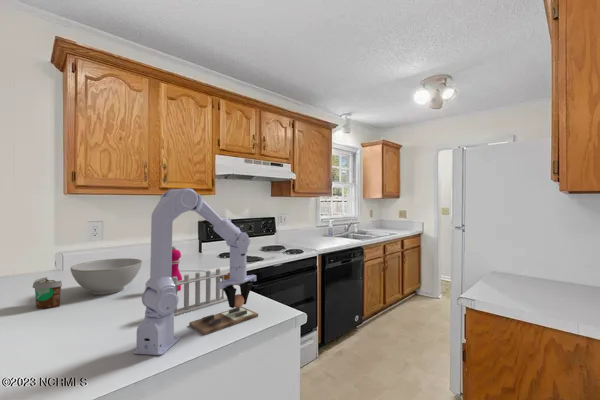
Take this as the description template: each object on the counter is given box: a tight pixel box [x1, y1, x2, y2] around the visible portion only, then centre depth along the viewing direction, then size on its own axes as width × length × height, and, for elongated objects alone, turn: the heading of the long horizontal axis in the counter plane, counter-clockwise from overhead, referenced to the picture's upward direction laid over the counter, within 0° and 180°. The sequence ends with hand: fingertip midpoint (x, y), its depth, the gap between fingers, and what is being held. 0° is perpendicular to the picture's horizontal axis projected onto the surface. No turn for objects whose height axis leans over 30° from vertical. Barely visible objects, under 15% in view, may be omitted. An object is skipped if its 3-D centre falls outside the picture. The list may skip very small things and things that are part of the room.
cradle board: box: [188, 306, 259, 336], centre depth 96 cm, size 20×10×2 cm, turn 136°
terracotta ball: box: [234, 293, 245, 308], centre depth 100 cm, size 4×4×4 cm
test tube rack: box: [172, 267, 230, 317], centre depth 109 cm, size 25×4×13 cm, turn 139°
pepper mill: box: [171, 245, 183, 292], centre depth 131 cm, size 7×7×20 cm
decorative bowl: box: [69, 257, 143, 295], centre depth 130 cm, size 27×27×12 cm
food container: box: [32, 276, 63, 310], centre depth 109 cm, size 12×6×10 cm, turn 62°
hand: (237, 305), depth 100 cm, fingers closed on terracotta ball, 4 cm apart
